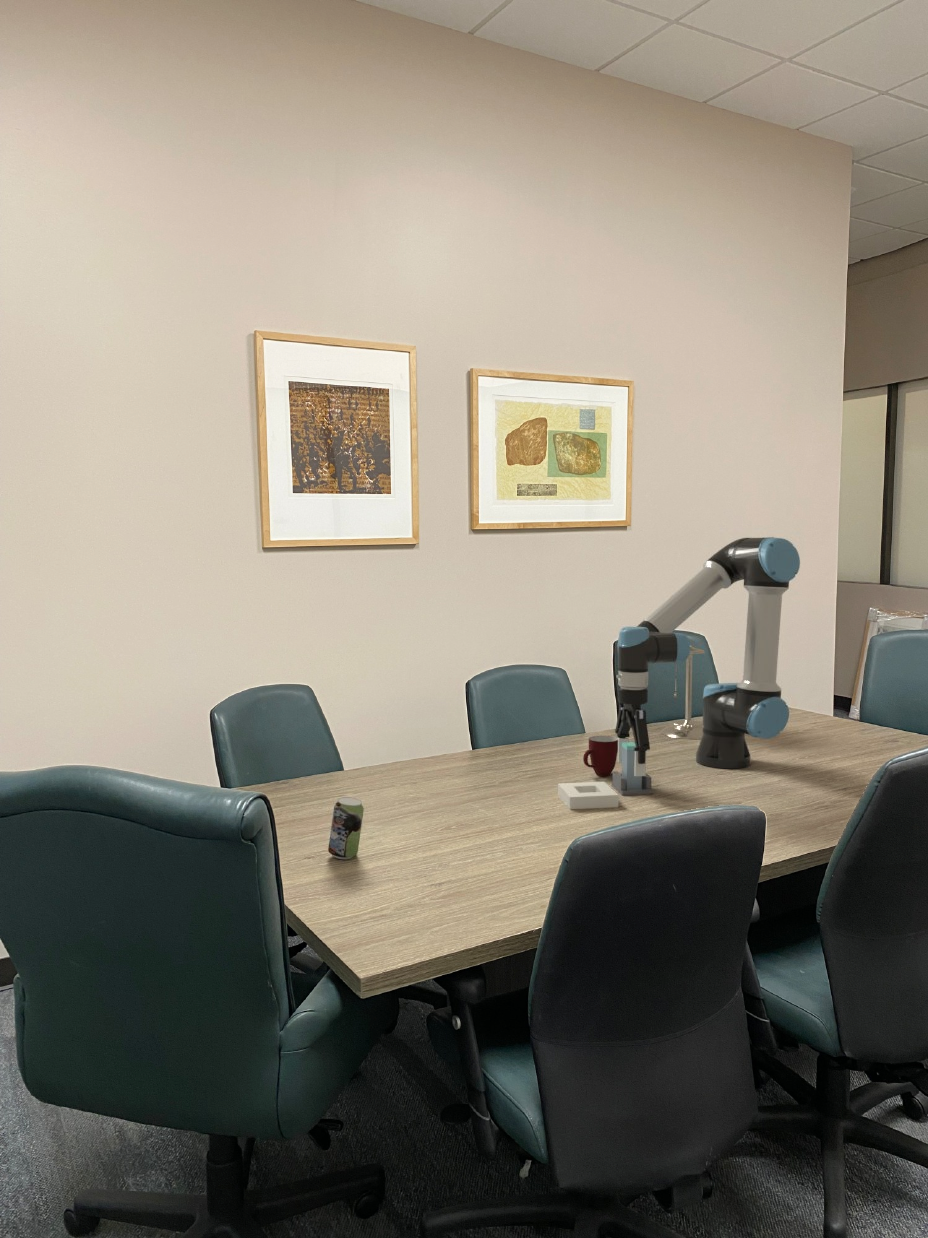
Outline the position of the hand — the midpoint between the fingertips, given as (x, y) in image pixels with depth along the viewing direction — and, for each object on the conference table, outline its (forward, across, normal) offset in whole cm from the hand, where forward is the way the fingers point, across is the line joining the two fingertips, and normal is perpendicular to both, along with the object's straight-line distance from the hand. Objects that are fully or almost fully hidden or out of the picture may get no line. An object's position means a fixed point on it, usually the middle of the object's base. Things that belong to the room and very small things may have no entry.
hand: (631, 769), depth 225 cm
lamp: (+5, -62, +37) cm, 72 cm away
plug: (+5, 0, 0) cm, 5 cm away
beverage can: (+6, +38, -73) cm, 82 cm away
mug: (+6, -15, -4) cm, 17 cm away
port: (+6, +8, -14) cm, 17 cm away
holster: (+5, 0, 0) cm, 5 cm away
